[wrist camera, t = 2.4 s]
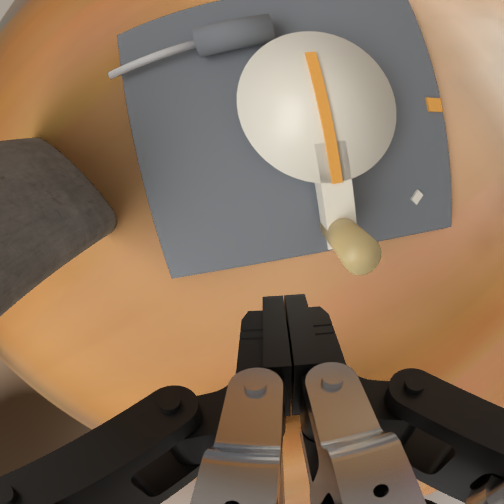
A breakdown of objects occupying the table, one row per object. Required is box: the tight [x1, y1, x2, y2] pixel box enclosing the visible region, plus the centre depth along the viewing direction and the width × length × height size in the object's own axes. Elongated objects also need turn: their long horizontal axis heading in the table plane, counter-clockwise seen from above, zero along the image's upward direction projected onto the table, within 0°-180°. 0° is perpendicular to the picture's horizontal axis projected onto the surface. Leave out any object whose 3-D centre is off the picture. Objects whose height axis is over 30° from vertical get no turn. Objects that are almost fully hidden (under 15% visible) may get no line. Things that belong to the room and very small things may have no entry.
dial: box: [237, 31, 396, 275], centre depth 17 cm, size 17×12×7 cm
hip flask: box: [0, 138, 116, 316], centre depth 14 cm, size 16×4×20 cm, turn 48°
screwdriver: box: [108, 14, 275, 79], centre depth 17 cm, size 14×3×3 cm
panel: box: [117, 0, 451, 278], centre depth 20 cm, size 25×29×2 cm
